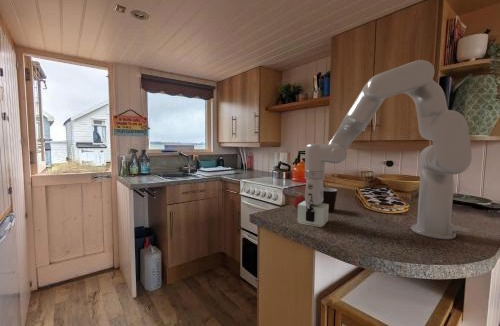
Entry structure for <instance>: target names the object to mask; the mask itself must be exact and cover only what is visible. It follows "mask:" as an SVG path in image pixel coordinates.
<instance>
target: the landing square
mask: <svg viewBox="0 0 500 326" xmlns="http://www.w3.org/2000/svg"><path fill="white" fill-rule="evenodd" d="M297 223H298V224H300V225H301V224H302V225H307V226H312V227H317V228H322V227H323V226H320V225H314V224H309V223H303V222H298V221H297Z"/></svg>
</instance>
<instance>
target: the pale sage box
mask: <svg viewBox="0 0 500 326" xmlns="http://www.w3.org/2000/svg"><path fill="white" fill-rule="evenodd" d="M310 203H311V202H310ZM310 206H311V205H310ZM311 207H312V206H311ZM328 209H329V204H324V203H320V204H319V205H316V204H315V207H314V212H315V215H314V222H310V221H306V203H305V201H303V202H301V203H300V204H298V209H297V217H296V218H297V223H298V222H303V223H309V224H314V225H320V226H322V227H324V226H325V225H326V223H328V221H329V212H328Z"/></svg>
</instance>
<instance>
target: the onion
mask: <svg viewBox="0 0 500 326" xmlns="http://www.w3.org/2000/svg"><path fill="white" fill-rule="evenodd" d="M302 195H303V194H302V193H299V194H298V195H297V196H295V198H294V199H293V202H292V203H293V206H294V208H295V209H296V210H298V204H300V203H301V202H303V201H305V196H302Z"/></svg>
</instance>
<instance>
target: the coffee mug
mask: <svg viewBox="0 0 500 326" xmlns="http://www.w3.org/2000/svg"><path fill="white" fill-rule="evenodd" d="M337 195H338V189H337V188H331V187H323V201H322V202H321V203H324V204H329V209H328V213H333V212H335V207H336V201H337Z"/></svg>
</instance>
